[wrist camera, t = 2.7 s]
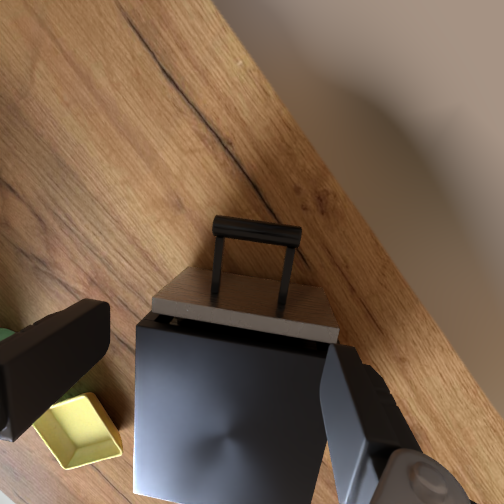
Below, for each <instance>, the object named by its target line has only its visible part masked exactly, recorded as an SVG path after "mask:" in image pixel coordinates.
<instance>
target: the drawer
mask: <svg viewBox="0 0 504 504" xmlns="http://www.w3.org/2000/svg"><path fill="white" fill-rule="evenodd" d="M212 233H213V235H214V236H217V237H216V240H215V250H214V261H213V270H207V269H201V268H194V267H187V268H186V269H185V270H183V271H182V272H181V273H180V274H179V275H178V276H177V277H175V278H174V279H173V280H172V281H171V282H170V283H168V284H167V285H166V286H165V287H164V288H163V289H161V290H160V291H159V292H158V293H157V294H156V295H154V296H153V297H152V313H156V314H161V315H167V316H173V317H174V318H173V319H172V320H171V322H170V323H169V324H171V325H177V326H183V327H188V328H194V329H200V330H206V331H211V332H217V333H223V334H228V335H234V336H240V337H245V338H251V339H257V340H263V341H268V342H274V343H280V344H285V345H291V346H297V347H303V348H308V349H314V350H318V349H317V345H316V341H318V342H323V343H329V344H331V343H337V339H338V335H339V330H340V328H339V326H338V324H337V321H336V319H335V316H334V314H333V312H332V309H331V307H330V304H329V302H328V299H327V297H326V295H325V292H324V290H323V288H321V287H314V286H308V285H302V284H296V283H290V277H291V271H292V265H293V260H294V254H295V248H298V247H299V245H300V241H301V235H302V227H300V226H293V225H286V224H279V223H272V222H265V221H258V220H251V219H243V218H236V217H229V216H222V215H216V216H215V218H214V220H213V226H212ZM225 238H231V239H238V240H245V241H252V242H258V243H265V244H272V245H279V246H285V247H286V253H285V259H284V265H283V271H282V277H281V281H277V280H270V279H264V278H258V277H251V276H245V275H239V274H232V273H226V272H222V266H223V256H224V246H225Z"/></svg>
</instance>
